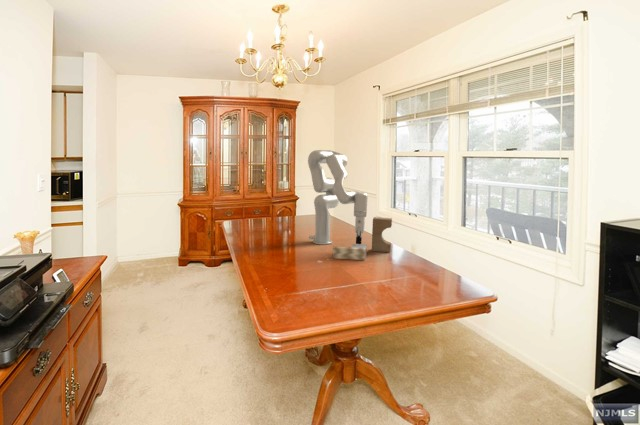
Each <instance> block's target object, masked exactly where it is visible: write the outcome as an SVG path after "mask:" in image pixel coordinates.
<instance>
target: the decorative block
mask: <svg viewBox="0 0 640 425" xmlns="http://www.w3.org/2000/svg"><path fill="white" fill-rule="evenodd" d="M392 226H393V218H392V217H376V216H373V218H372V230H371V231H372V232H371V251H372V252H377V253H379V252H380V253H391V248H392V243H391V242H389V241H387V240H386V239H384V236H383V232H384V231H385V230H386V229H390V228H391V229H392Z"/></svg>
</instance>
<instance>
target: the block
mask: <svg viewBox="0 0 640 425" xmlns="http://www.w3.org/2000/svg"><path fill="white" fill-rule="evenodd" d="M351 247H354V248H366V250H365V259H367V244H356V243H355V244H354V243H353V244H352V245H351Z"/></svg>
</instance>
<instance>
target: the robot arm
mask: <svg viewBox="0 0 640 425" xmlns="http://www.w3.org/2000/svg"><path fill="white" fill-rule="evenodd" d="M321 164H326V165H327V167H328V169H329V170H330V173H331V175H332V177H333V178H332V177H326V175H325V171H324V168H323V167H322V165H321ZM307 165H308V168H309V171H310V174H311V176H310V177H311V181H312V186H313V190H314V192H316V193H318V194H319V193H320V194H319V195H317V196H316V197H315V198H314V199H313V204H314V210H315V224H314V225H315V234H314V235H308V239H309V240H312V242H313V244H316V245H320V246H321V245H331V244H333V240H332V239H330V238H331V214H330V211H329V209H334V208H336V207H338V206H339V203H340V204H342V205H349V204H354V205H353V216H354V217H355V224H354V228H355V229H354V230H355V233H356V236H355V244H359V245H362V239H363V238H362V234H364V233H365V222H366V220H365V219H366V218H365V217H367V210H368V209H367V208H368V193H366V192H359V191H357V190H345V188H344V184H343V182H344V180H345V179H346V178H347V177H348V172H347V170H346V168H345V167H347V165H348V158H347V156H346V155H345V154H344V153H340V152H337V151H333V150H332V149H331V150H329V149H327V150H326V149H316V150H313V151H311V152H310V153H309V155H308V158H307ZM321 193H325V194H321Z"/></svg>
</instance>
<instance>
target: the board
mask: <svg viewBox="0 0 640 425" xmlns="http://www.w3.org/2000/svg"><path fill="white" fill-rule="evenodd" d="M365 250H366V251H367V247H366V248H354V247H352V246H333V247H332V259H340V260H341V259H342V260H355V261H356V260H357V261H358V260H359V261H365V260H366V258H365Z"/></svg>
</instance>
